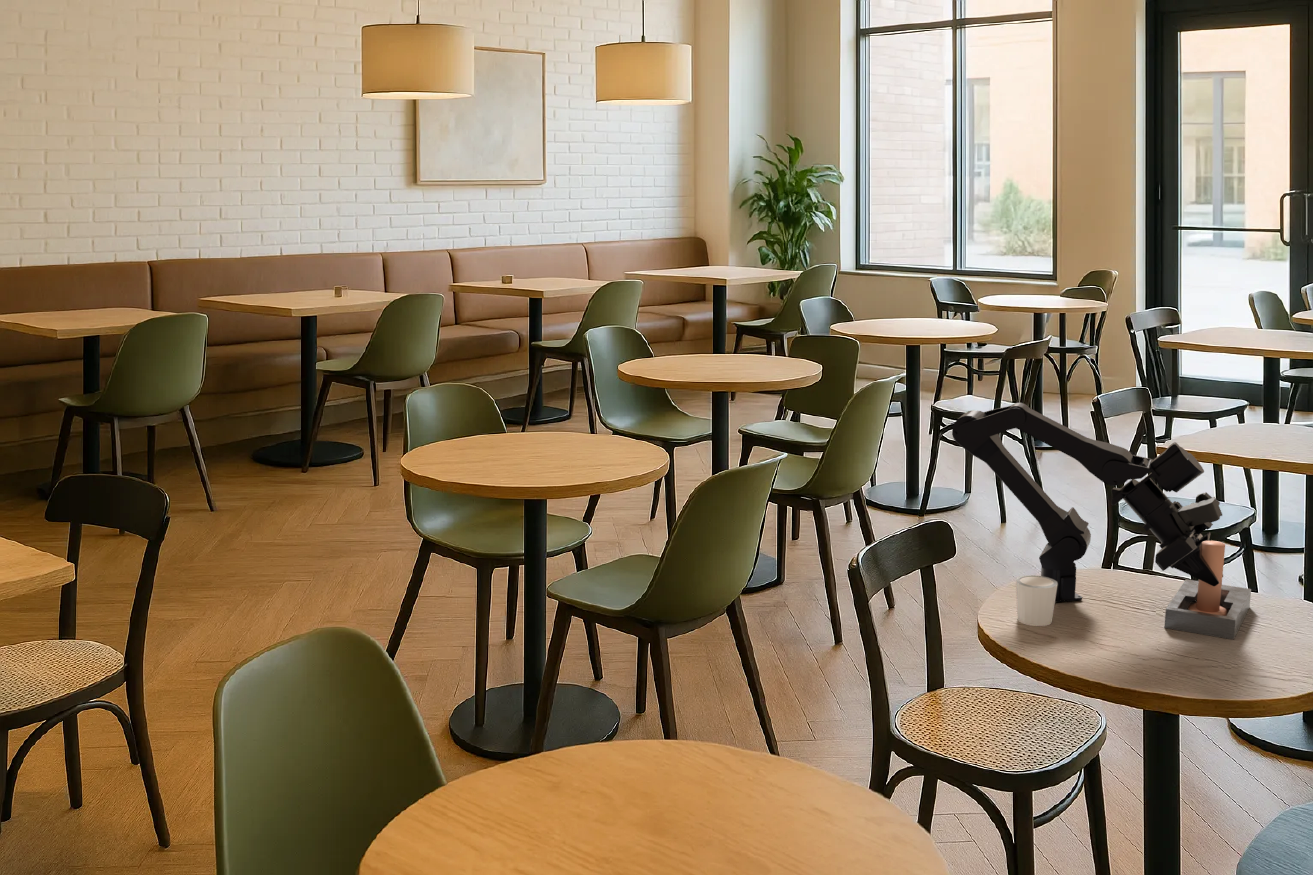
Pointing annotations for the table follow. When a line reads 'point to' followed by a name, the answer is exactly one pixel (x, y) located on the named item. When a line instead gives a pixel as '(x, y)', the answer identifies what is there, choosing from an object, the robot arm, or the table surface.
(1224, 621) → the keyhole plate
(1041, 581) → the white cup
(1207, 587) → the peg
